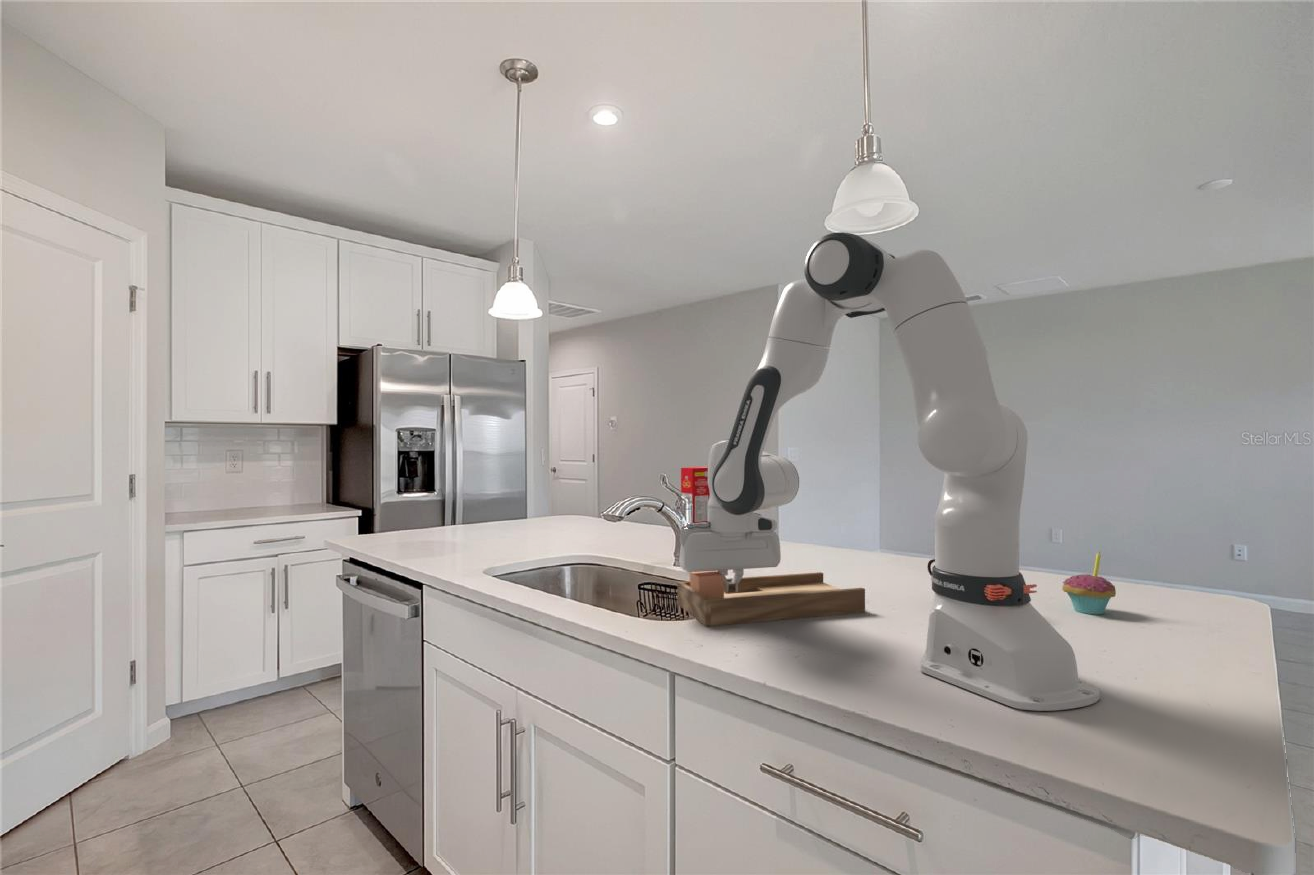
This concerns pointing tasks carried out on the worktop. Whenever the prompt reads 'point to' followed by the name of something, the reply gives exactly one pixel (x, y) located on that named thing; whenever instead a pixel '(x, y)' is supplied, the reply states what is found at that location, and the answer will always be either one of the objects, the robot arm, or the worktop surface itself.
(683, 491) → the food packaging
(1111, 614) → the worktop surface
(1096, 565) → the cupcake
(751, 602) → the trap lane
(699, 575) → the block
